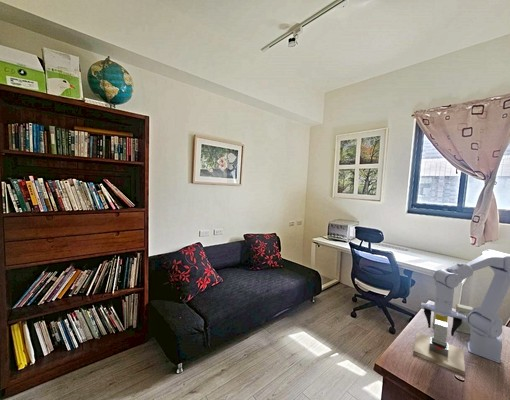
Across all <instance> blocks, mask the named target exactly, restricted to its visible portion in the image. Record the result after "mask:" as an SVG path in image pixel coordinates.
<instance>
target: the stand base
mask: <svg viewBox="0 0 510 400" xmlns="http://www.w3.org/2000/svg"><path fill="white" fill-rule="evenodd" d="M431 337H432V336H428V335H425V334H423V333H420V332H416V337H415V342H414V347H413V353H412V354H413V355H414V356H418V357H419V358H422V359H424V360H427V361H428V362H431V363H434V364H437V366H438V365H439V366H441V367H444V368H445V369H449V370H450V371H453V372H455V373H458V374H460V375H463V376H466V366H465V357H464V348H461V347H458V346H455V345H453V344H451V343H448V349H449V351H448V357H445V356H443V355H440V354H438V353H435V352H433V351H430V350H429V347H430V338H431Z"/></svg>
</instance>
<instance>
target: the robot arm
mask: <svg viewBox="0 0 510 400" xmlns="http://www.w3.org/2000/svg"><path fill="white" fill-rule="evenodd" d="M487 267H488V268H490V269H491V270H492V271H493V273H494V275H493V277H492V280H491V281H490V284H489V286H488V288H487V290H486V294H485V295H484V298H483V299H482V302H481V304H480V306H478V307H477V306H476V307H473V309H472V311H471V312H470V313H469V314H468V315H467V322H468V323H469V324H470V327H471V334H469V335H470V337H469V341H467V342H466V343H467V349H468V352H469V353H471V354H473V355H476V356H479V357H482V358H484V359H488V360H490V361H493V362H495V363H498V364H500V363H501V358H502V352H503V351H502V350H503V340H502V337H500V336H501V335H502V333H503V326H504V321H503V320H502V319H501V317H500V316H499V315H498V314H499V313H500V310H501V307H502V305H503V303H504V302H505V301H504V300H505V298H506V296H507V294H508V291H509V290H510V253H505V252H502V251H499V250H494V249H491V248H489V249H485V250H484V251H481V254H480V255H479V256H478V257H475V258H474V259H473V260H470V261H469V262H467V263H465V262H458V263H457V264H455V265H451V266H450V267H448V268H446V269H442V268H440V269H437V270H436V271H435V272H434V273H433V275H432V278H433V280H434V285H435V293H434V294H435V295H434V296H435V297H434V302H433V303H434V304H430V303H424V302H421V304H420V309H422V310H423V314H424V316H425V318H426V322H427V326H428V327H427V328H428V329H431V326H432V325H431V323H432V319H431V318H432V312H433V313H434V312H436V313H439V314H441V315H444V316H448V317H449V318H450V317H451V318H452V326H451V331H450V335H451V336H452V337H454V335H455V333H456V329H457V328H458V327H459V326H460V325H461V324H462V321H463V322H466V315H463V314H460V313H457V312H456V310H453V304H454V294H455V288H457V287H458V286H459V285H460V283H461V282H462V281H463V280H465V279H467V278H470V277H472V276H473V275H474V272H475V271H479V270H481V269H483V268H484V269H485V268H487Z"/></svg>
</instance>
